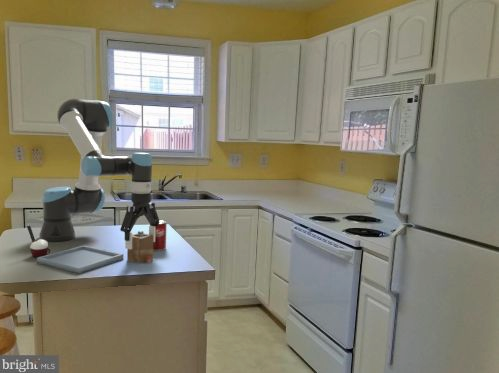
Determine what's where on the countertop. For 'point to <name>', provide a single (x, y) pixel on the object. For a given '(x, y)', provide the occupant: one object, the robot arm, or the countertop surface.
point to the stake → (140, 233)
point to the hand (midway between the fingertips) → (140, 245)
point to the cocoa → (38, 245)
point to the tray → (80, 259)
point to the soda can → (160, 236)
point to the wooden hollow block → (141, 249)
